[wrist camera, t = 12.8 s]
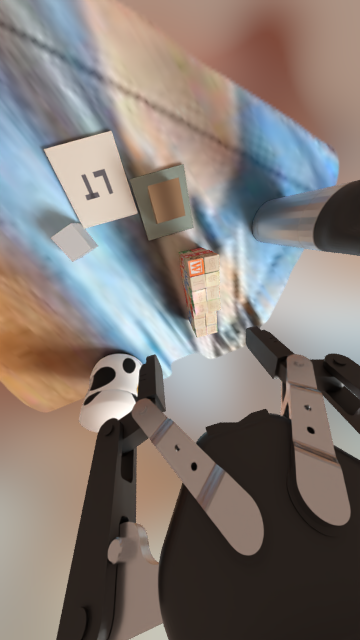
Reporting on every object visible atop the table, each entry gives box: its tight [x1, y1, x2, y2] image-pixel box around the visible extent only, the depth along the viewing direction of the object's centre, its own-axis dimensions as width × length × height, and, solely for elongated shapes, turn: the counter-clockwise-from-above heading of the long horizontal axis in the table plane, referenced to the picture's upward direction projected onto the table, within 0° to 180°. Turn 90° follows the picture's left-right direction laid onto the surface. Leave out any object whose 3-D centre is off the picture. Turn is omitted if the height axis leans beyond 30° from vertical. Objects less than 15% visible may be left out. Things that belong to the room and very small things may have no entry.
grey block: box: [51, 223, 98, 262], centre depth 32 cm, size 5×5×5 cm
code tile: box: [44, 131, 138, 229], centre depth 30 cm, size 12×12×1 cm
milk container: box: [79, 353, 143, 432], centre depth 48 cm, size 17×17×18 cm
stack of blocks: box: [179, 248, 221, 337], centre depth 39 cm, size 21×6×12 cm, turn 9°
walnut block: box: [148, 177, 186, 224], centre depth 30 cm, size 6×6×6 cm
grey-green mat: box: [130, 164, 194, 240], centre depth 33 cm, size 11×11×1 cm
